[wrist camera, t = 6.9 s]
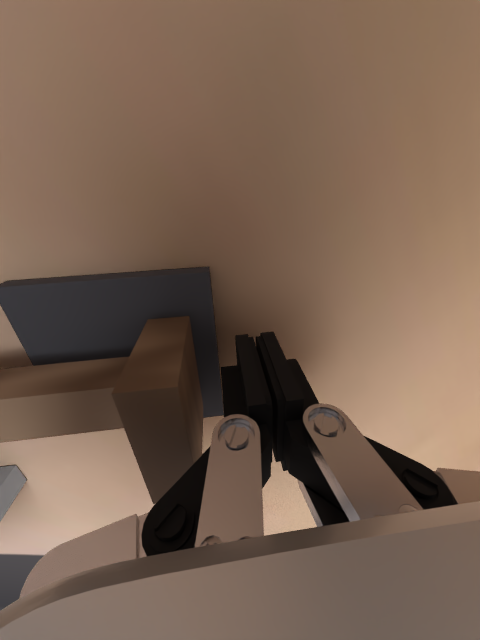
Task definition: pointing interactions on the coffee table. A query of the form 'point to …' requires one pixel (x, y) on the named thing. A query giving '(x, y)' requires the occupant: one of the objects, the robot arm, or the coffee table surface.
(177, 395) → the sled
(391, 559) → the robot arm
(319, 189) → the coffee table surface
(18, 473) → the tunnel
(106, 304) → the panel
